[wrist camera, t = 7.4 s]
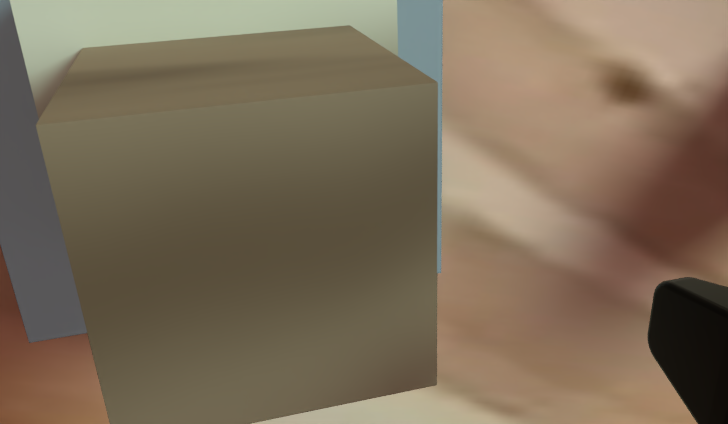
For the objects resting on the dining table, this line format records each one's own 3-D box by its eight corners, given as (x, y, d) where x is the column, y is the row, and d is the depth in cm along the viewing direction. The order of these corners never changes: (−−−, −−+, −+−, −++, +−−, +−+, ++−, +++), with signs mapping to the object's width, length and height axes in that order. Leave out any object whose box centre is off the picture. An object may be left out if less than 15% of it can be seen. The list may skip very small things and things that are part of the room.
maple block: (360, 212, 20) (402, 278, 16) (106, 249, 18) (91, 332, 15) (348, -47, 17) (396, -34, 13) (44, -28, 15) (7, -8, 12)
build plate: (428, 255, 22) (442, 274, 21) (36, 319, 20) (28, 345, 19) (426, -160, 18) (444, -165, 16) (-96, -146, 15) (-118, -150, 14)
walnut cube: (360, 249, 16) (436, 384, 11) (132, 286, 15) (116, 450, 10) (349, 25, 14) (437, 82, 9) (82, 48, 12) (36, 125, 8)
